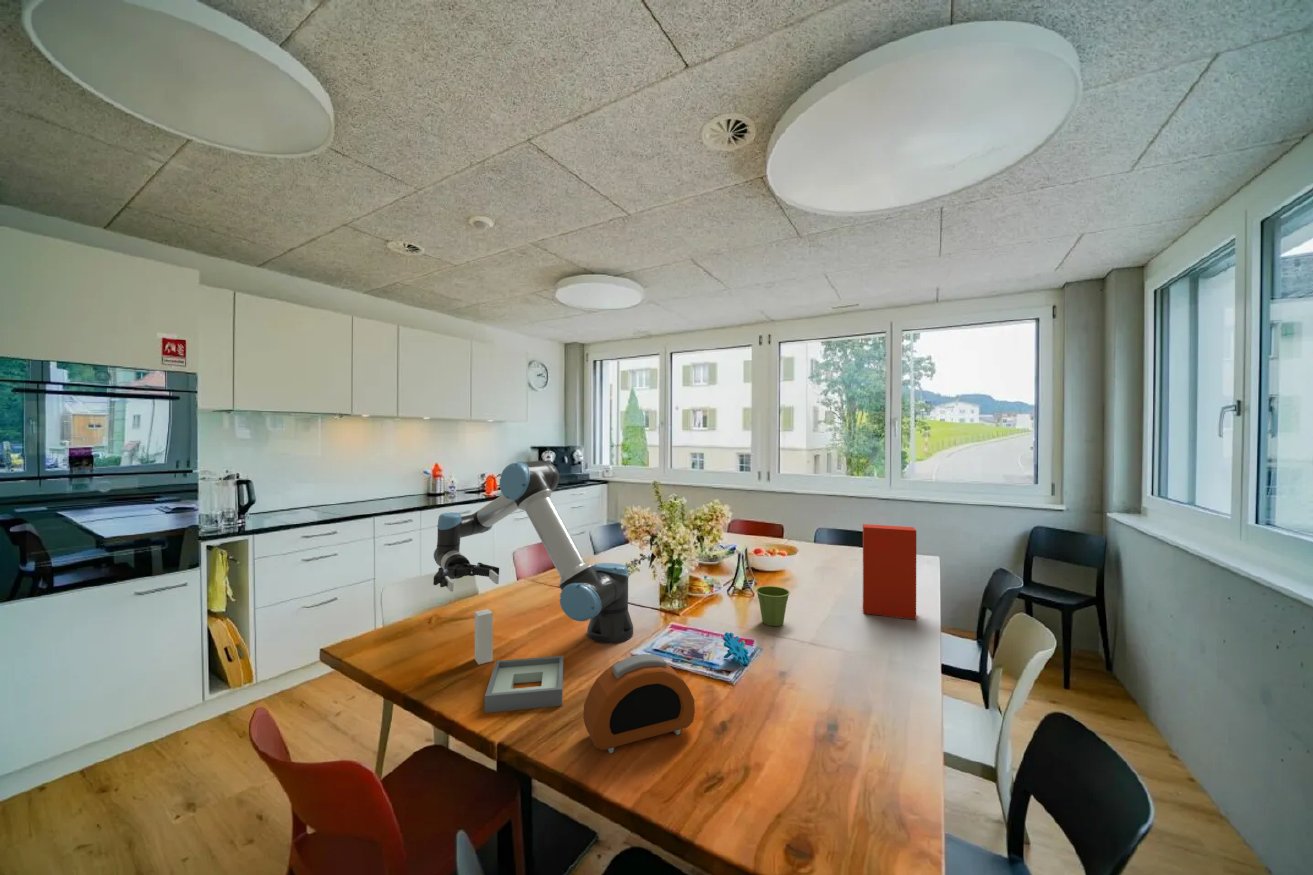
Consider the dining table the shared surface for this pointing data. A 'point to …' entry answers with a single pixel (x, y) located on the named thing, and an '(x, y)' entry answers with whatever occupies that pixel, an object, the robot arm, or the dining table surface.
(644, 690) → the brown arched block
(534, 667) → the bore box
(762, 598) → the plant pot
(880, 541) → the file binder
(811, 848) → the dining table surface
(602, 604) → the robot arm
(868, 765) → the dining table surface
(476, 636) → the peg
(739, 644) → the gear
